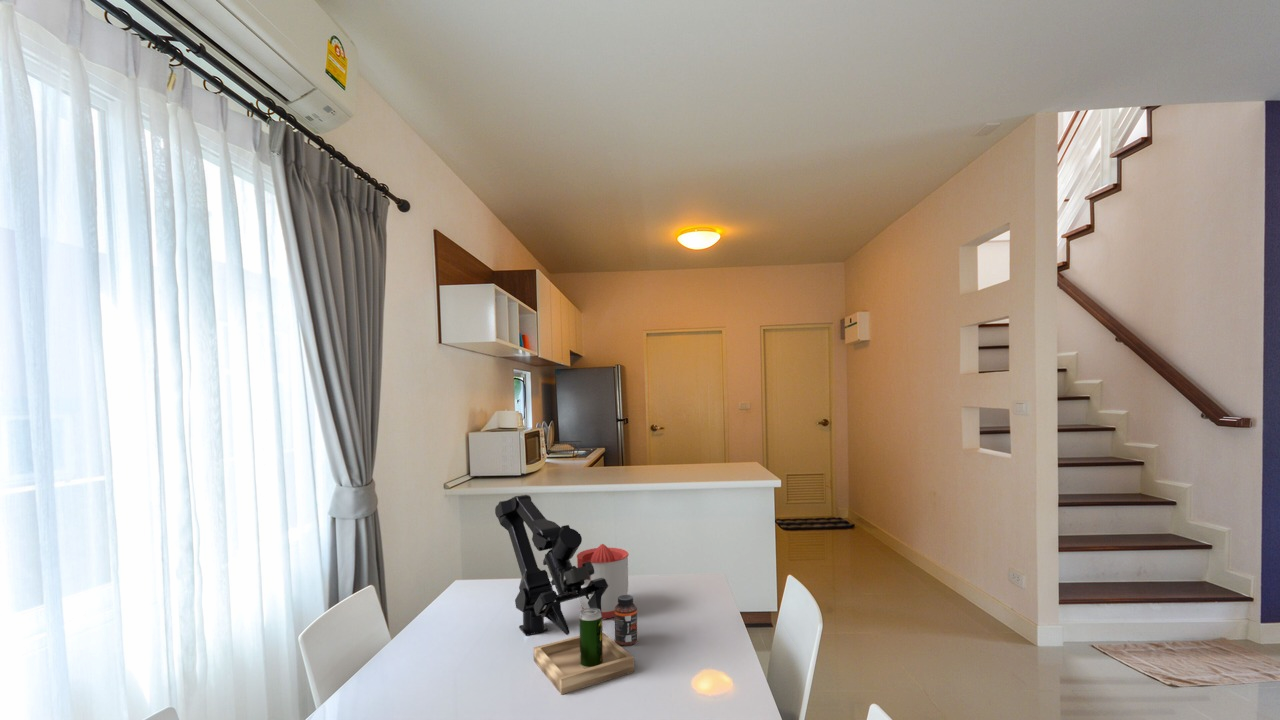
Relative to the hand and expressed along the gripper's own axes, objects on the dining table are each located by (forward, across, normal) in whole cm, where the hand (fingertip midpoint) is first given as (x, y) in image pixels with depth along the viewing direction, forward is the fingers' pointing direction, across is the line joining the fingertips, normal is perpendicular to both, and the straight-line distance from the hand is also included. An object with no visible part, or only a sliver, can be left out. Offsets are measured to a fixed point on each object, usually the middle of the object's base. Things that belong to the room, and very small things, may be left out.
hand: (585, 628), depth 129 cm
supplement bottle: (+3, +15, +9) cm, 18 cm away
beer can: (+7, 0, +3) cm, 8 cm away
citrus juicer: (-11, +21, +24) cm, 33 cm away
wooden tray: (+6, -1, +6) cm, 9 cm away
